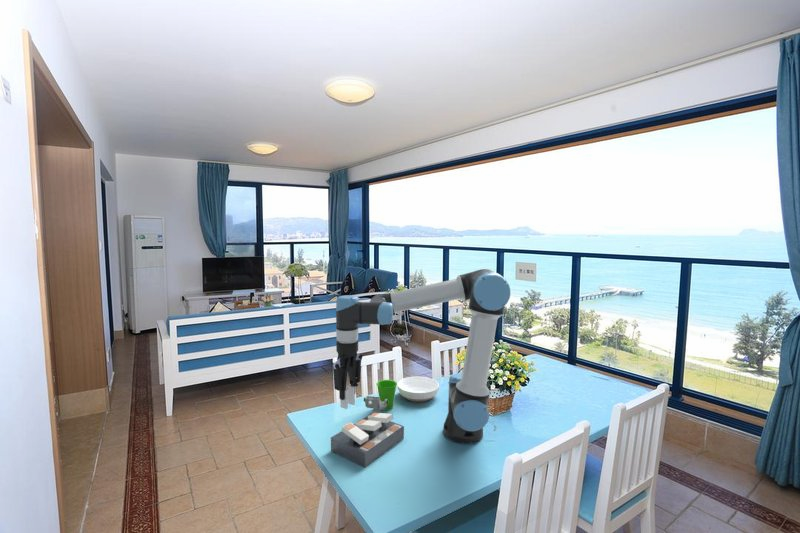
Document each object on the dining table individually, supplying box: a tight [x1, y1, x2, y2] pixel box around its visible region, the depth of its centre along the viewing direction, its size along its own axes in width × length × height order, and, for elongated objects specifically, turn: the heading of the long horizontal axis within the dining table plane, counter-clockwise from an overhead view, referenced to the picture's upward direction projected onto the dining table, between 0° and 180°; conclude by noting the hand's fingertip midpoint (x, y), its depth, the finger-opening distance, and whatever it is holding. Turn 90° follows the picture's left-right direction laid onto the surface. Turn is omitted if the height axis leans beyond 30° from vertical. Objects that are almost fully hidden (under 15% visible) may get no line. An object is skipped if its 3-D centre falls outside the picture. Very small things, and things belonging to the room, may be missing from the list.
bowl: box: [396, 375, 440, 403], centre depth 183 cm, size 20×20×6 cm
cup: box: [376, 379, 398, 411], centre depth 171 cm, size 9×9×11 cm
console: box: [330, 413, 405, 468], centre depth 142 cm, size 16×22×6 cm
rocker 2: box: [354, 419, 382, 431], centre depth 141 cm, size 9×4×2 cm, turn 54°
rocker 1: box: [341, 421, 369, 445], centre depth 136 cm, size 9×4×2 cm, turn 54°
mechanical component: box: [363, 395, 389, 413], centre depth 158 cm, size 3×10×10 cm, turn 78°
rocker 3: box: [367, 412, 394, 423], centre depth 147 cm, size 9×4×2 cm, turn 54°
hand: (347, 405), depth 137 cm, fingers open, 3 cm apart
